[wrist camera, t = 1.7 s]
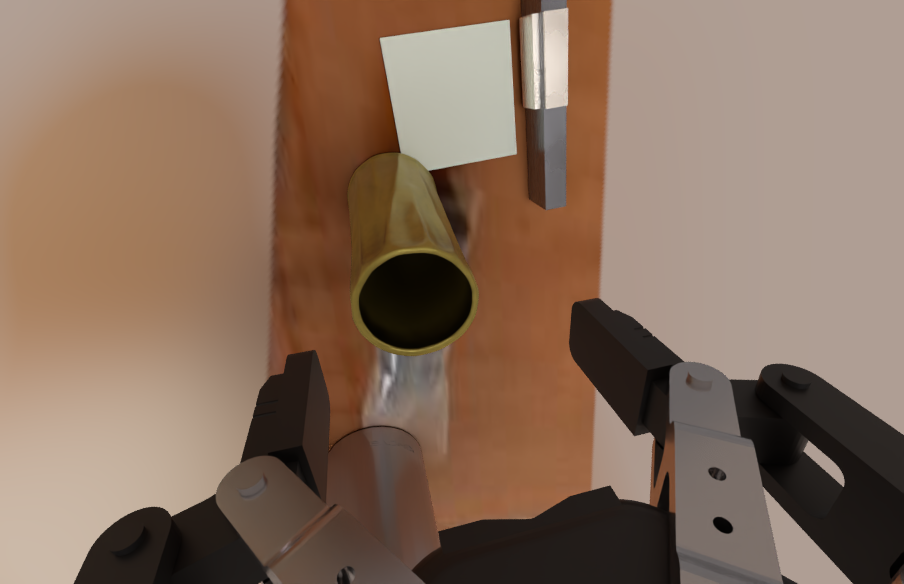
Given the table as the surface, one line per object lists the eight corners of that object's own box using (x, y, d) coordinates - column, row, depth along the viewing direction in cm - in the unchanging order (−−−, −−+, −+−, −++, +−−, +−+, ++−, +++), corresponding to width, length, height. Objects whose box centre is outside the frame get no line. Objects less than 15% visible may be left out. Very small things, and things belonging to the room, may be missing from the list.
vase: (373, 133, 26) (385, 206, 14) (452, 180, 29) (519, 276, 17) (332, 213, 29) (312, 336, 16) (409, 251, 31) (441, 381, 19)
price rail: (547, 195, 31) (567, 207, 29) (524, 200, 31) (542, 212, 28) (543, -35, 25) (569, -49, 22) (513, -31, 24) (535, -45, 22)
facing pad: (515, 153, 29) (516, 154, 29) (404, 174, 28) (405, 174, 28) (507, 20, 26) (509, 19, 25) (379, 38, 25) (379, 38, 24)
